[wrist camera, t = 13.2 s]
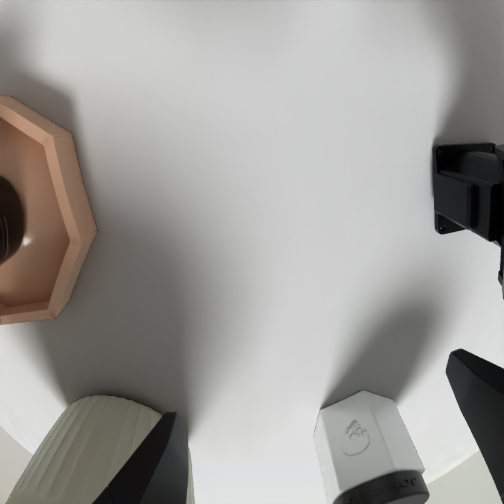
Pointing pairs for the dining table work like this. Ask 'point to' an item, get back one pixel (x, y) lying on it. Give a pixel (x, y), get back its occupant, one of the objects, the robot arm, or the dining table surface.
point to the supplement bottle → (10, 221)
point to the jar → (368, 453)
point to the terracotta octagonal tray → (42, 215)
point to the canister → (86, 452)
